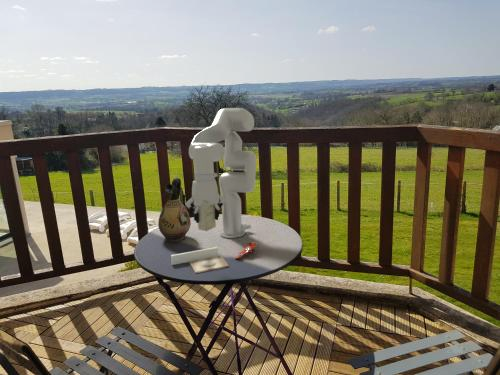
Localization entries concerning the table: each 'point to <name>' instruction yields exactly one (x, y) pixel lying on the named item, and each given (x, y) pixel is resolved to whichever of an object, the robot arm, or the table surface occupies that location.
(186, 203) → the robot arm
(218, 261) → the cork pad
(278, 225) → the table surface
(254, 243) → the fish
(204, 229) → the skincare box
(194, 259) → the acrylic wall
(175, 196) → the ceramic jug
